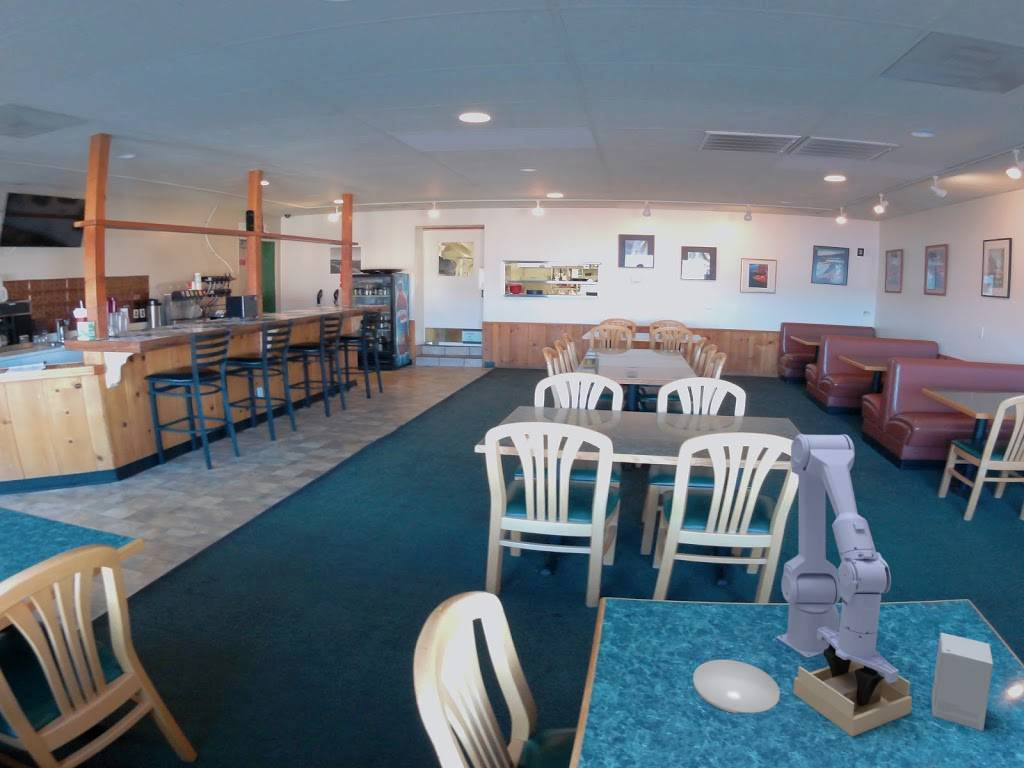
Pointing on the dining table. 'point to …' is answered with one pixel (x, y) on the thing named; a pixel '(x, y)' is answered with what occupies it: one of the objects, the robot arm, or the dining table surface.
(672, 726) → the dining table surface
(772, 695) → the plate
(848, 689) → the brown rectangular block
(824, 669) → the wooden tray
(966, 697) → the supplement box
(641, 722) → the dining table surface
